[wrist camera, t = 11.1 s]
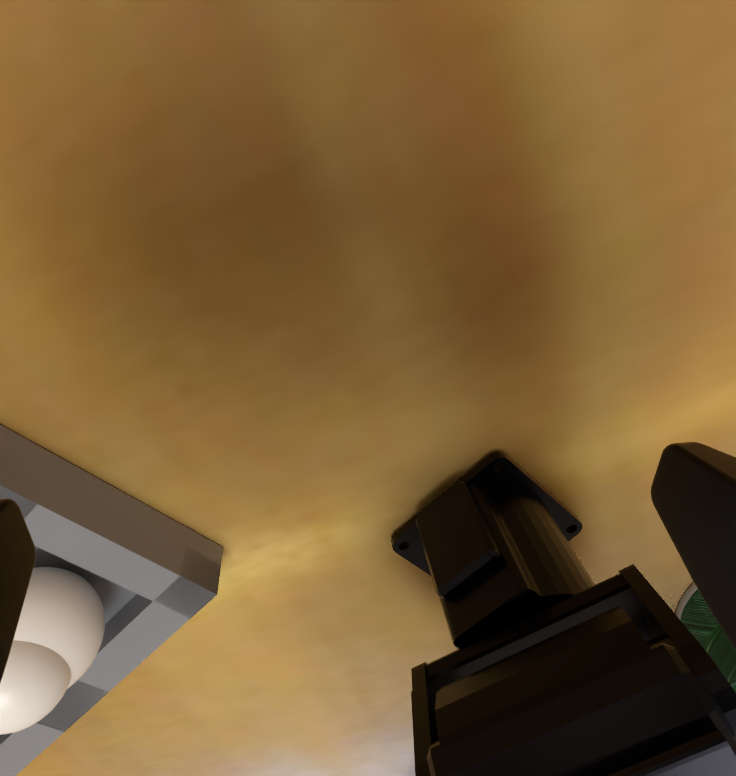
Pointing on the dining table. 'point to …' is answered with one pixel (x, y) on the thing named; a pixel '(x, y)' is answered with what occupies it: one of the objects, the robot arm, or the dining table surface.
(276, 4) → the dining table surface
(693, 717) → the robot arm
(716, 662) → the canned tomato
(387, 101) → the dining table surface
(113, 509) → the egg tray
